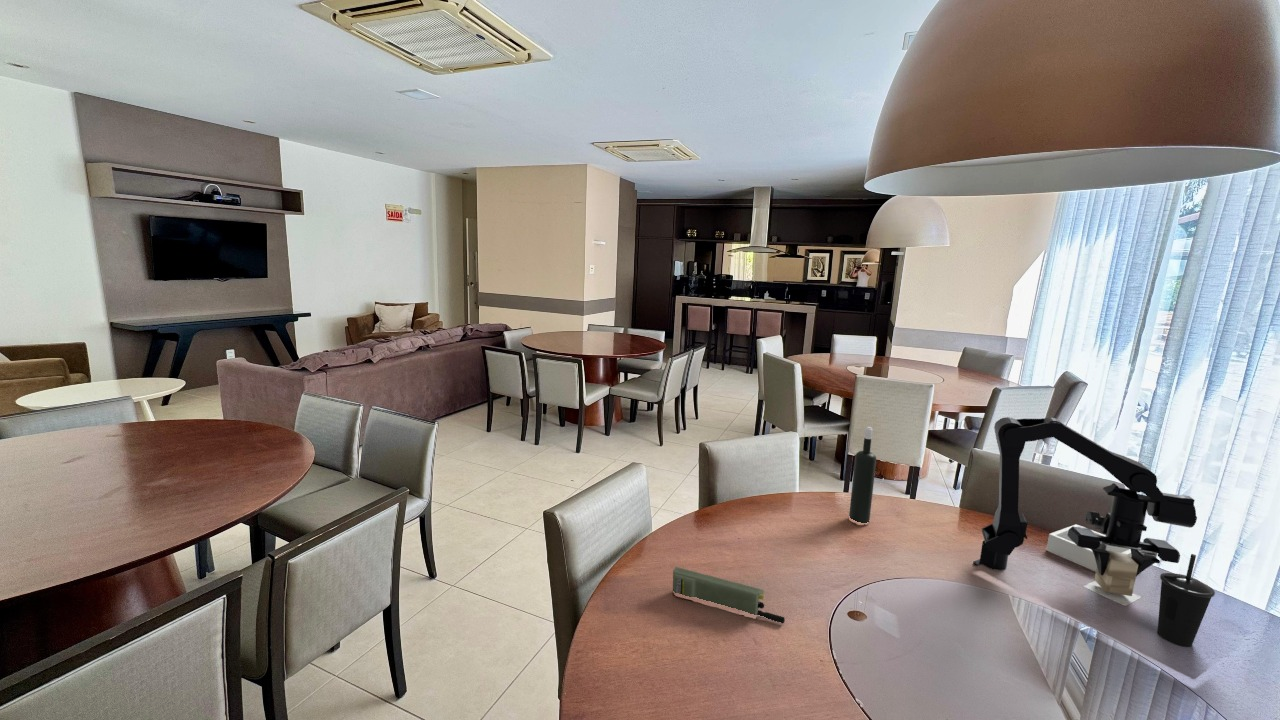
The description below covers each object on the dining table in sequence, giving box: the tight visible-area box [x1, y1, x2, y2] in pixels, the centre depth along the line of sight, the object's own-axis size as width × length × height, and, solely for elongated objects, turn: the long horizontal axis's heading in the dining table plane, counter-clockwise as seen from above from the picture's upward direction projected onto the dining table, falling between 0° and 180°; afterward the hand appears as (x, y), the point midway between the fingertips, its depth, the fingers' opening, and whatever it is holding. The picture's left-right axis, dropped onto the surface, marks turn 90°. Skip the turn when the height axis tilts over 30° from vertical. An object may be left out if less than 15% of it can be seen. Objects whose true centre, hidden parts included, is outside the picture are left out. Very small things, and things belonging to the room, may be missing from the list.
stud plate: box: [1082, 580, 1142, 607], centre depth 120 cm, size 8×8×5 cm
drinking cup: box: [1156, 553, 1216, 648], centre depth 104 cm, size 8×8×20 cm
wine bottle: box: [848, 426, 877, 523], centre depth 152 cm, size 6×6×30 cm
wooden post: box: [1093, 551, 1138, 596], centre depth 120 cm, size 5×5×8 cm
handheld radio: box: [672, 566, 786, 624], centre depth 112 cm, size 7×3×25 cm
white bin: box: [1046, 523, 1131, 573], centre depth 135 cm, size 14×14×6 cm
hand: (1114, 576), depth 120 cm, fingers closed on wooden post, 5 cm apart
